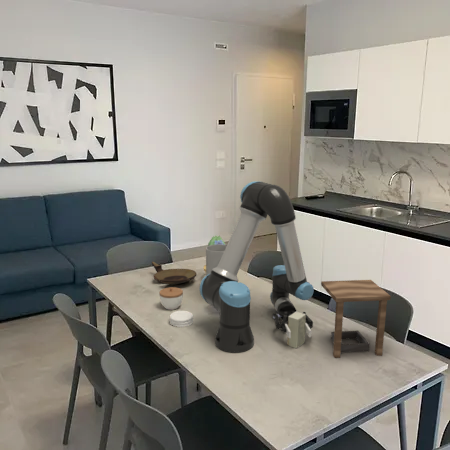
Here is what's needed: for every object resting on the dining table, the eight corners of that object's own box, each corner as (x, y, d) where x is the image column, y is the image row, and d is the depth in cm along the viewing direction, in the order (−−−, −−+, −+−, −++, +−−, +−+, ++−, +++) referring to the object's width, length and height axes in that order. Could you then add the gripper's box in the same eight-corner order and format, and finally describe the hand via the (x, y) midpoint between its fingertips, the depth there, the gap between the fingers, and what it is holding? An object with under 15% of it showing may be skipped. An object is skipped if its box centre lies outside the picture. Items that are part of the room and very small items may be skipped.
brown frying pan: (163, 293, 225) (163, 279, 223) (144, 275, 251) (144, 262, 249) (204, 286, 235) (204, 272, 234) (182, 269, 261) (181, 257, 259)
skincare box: (295, 339, 178) (296, 310, 175) (305, 342, 175) (306, 313, 173) (286, 345, 173) (287, 316, 171) (296, 349, 171) (297, 319, 168)
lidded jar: (186, 309, 206) (185, 290, 204) (163, 313, 202) (162, 293, 200) (179, 301, 215) (179, 282, 213) (157, 304, 212) (156, 285, 209)
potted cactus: (198, 284, 238) (198, 238, 232) (209, 275, 252) (209, 231, 246) (226, 287, 233) (226, 241, 227) (235, 278, 247) (236, 233, 241)
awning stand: (385, 356, 166) (390, 296, 160) (332, 358, 164) (336, 298, 158) (366, 334, 182) (370, 279, 177) (318, 336, 180) (321, 281, 175)
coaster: (196, 319, 197) (196, 311, 196) (188, 329, 187) (188, 321, 187) (174, 316, 199) (174, 309, 198) (166, 326, 190) (165, 318, 189)
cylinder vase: (202, 294, 224) (202, 245, 218) (226, 291, 228) (226, 243, 223) (211, 303, 213) (210, 252, 207) (235, 300, 217) (236, 250, 211)
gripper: (308, 316, 192) (325, 342, 170) (261, 318, 190) (273, 344, 168) (309, 300, 190) (326, 323, 168) (262, 301, 188) (273, 326, 166)
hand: (300, 334), depth 168 cm, fingers closed on skincare box, 7 cm apart
